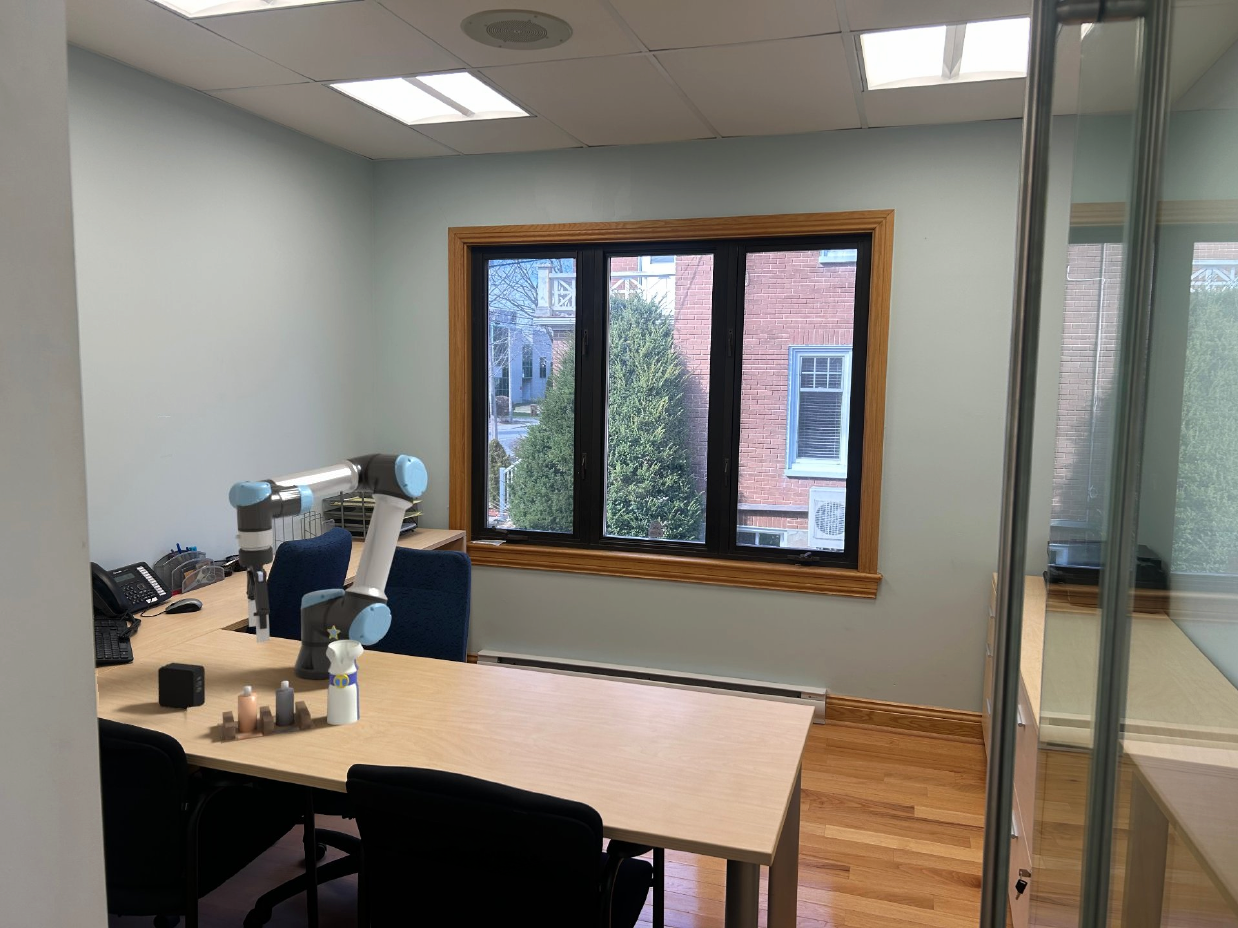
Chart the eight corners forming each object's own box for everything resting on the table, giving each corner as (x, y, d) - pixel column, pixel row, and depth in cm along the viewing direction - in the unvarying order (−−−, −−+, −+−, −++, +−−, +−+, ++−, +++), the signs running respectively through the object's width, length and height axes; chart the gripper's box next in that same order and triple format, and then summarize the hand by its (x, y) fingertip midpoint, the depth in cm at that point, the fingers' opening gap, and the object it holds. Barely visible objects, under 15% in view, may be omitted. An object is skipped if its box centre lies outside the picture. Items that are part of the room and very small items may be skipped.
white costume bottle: (360, 728, 197) (360, 625, 195) (322, 730, 196) (322, 626, 194) (364, 715, 205) (365, 616, 203) (328, 716, 204) (329, 616, 202)
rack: (307, 714, 205) (307, 698, 204) (315, 732, 194) (315, 715, 194) (217, 727, 195) (217, 711, 195) (221, 747, 185) (221, 729, 184)
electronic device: (193, 710, 205) (193, 670, 204) (158, 706, 207) (157, 667, 206) (205, 704, 209) (204, 665, 209) (170, 700, 211) (170, 662, 211)
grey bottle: (292, 718, 199) (292, 678, 199) (295, 724, 196) (295, 683, 195) (274, 721, 197) (274, 680, 197) (276, 727, 194) (276, 685, 193)
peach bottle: (236, 727, 193) (236, 685, 192) (255, 724, 195) (254, 682, 194) (239, 733, 190) (239, 691, 189) (258, 730, 192) (258, 688, 191)
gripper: (232, 539, 207) (235, 621, 209) (245, 559, 186) (248, 651, 188) (264, 536, 211) (267, 617, 213) (281, 555, 189) (284, 645, 192)
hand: (259, 633), depth 201 cm, fingers open, 13 cm apart
